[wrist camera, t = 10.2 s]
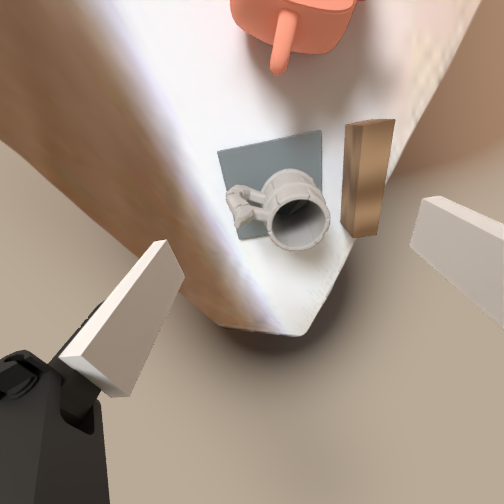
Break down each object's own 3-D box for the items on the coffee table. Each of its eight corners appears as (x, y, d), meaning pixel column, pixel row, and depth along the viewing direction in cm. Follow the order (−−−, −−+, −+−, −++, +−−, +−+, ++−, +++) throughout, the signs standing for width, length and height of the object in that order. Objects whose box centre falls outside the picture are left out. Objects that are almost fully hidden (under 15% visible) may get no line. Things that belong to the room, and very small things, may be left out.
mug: (304, 224, 31) (326, 274, 21) (227, 209, 30) (212, 254, 20) (323, 173, 27) (361, 204, 17) (235, 153, 26) (220, 174, 16)
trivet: (217, 151, 27) (217, 151, 26) (320, 130, 25) (321, 130, 24) (239, 237, 33) (238, 239, 33) (320, 225, 32) (321, 227, 31)
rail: (345, 124, 25) (363, 125, 20) (371, 119, 24) (395, 119, 20) (340, 222, 31) (353, 238, 27) (360, 219, 31) (376, 234, 27)
